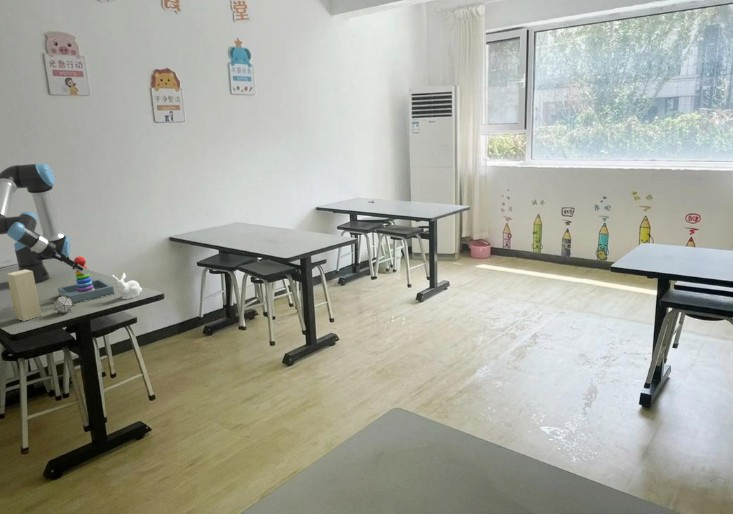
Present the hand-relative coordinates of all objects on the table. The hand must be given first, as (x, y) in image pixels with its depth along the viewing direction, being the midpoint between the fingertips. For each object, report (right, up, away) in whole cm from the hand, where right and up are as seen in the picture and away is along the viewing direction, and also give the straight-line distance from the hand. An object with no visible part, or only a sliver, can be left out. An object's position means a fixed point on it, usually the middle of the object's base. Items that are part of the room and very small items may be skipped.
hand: (83, 270), depth 268 cm
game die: (+3, -19, -22) cm, 29 cm away
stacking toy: (0, -11, +3) cm, 12 cm away
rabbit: (+24, -13, -4) cm, 27 cm away
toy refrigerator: (-11, -20, -26) cm, 35 cm away
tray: (0, -12, +3) cm, 12 cm away
